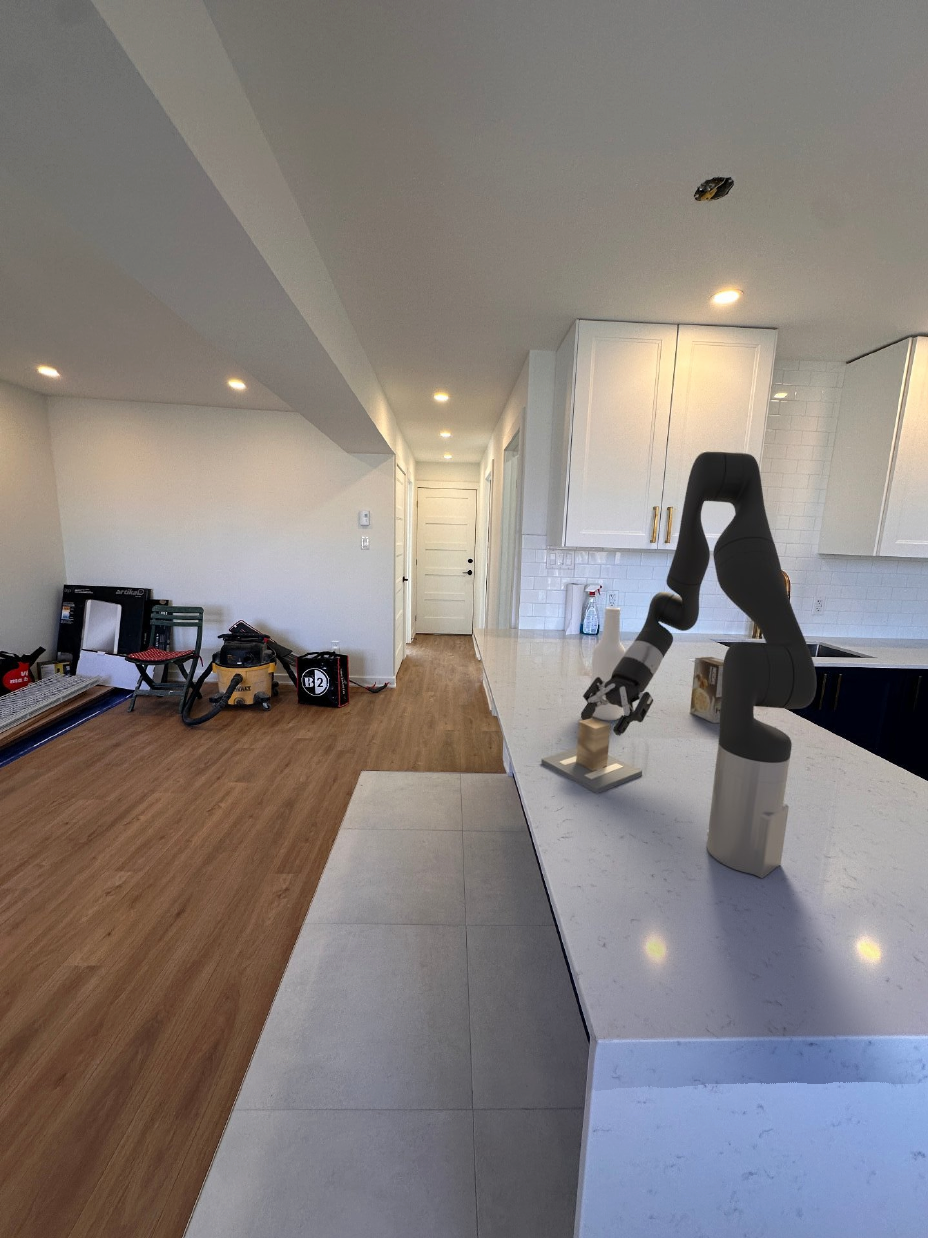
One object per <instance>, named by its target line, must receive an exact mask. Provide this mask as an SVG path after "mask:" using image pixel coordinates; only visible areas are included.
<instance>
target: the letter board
mask: <svg viewBox="0 0 928 1238" xmlns="http://www.w3.org/2000/svg"><path fill="white" fill-rule="evenodd" d="M576 755H577V747H575V748H572V749H569V750H565V751H563V752H559V753H555V754H554V755H550V756H546V757H542V758H541V762H540V763H541V764H542V765H544V767H547V768H549V769H551V770H553V771H555V772H556V773H558V774H560V775H562V776H564V777H566V778H568V779H569V780H571V781H573V782H574V783H576V784H579V785H581V786H582V787H584V788H586V789H587V790H590V791H592V792H593V793H595V794H599V793H601V792H603V791H604V792H605V791H606V790H609V789H610V788H614V787H616V786H619V785H621V784H625V783H626V782H628V781H631V780H634V779H636V778H639V777H640V776H643V769H640V768H637V767H635V766H633V765H631V764H629V763H626V762H624V761H623V760H620V759H619V758H616V757H614V756H611V755H609V754H608V761H607V766H604V767H602V768H599V769H596V770H593V771H592V770H590V769H588V768H586V767H584V766H582V765H580V764H578V763H576Z"/></svg>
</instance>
